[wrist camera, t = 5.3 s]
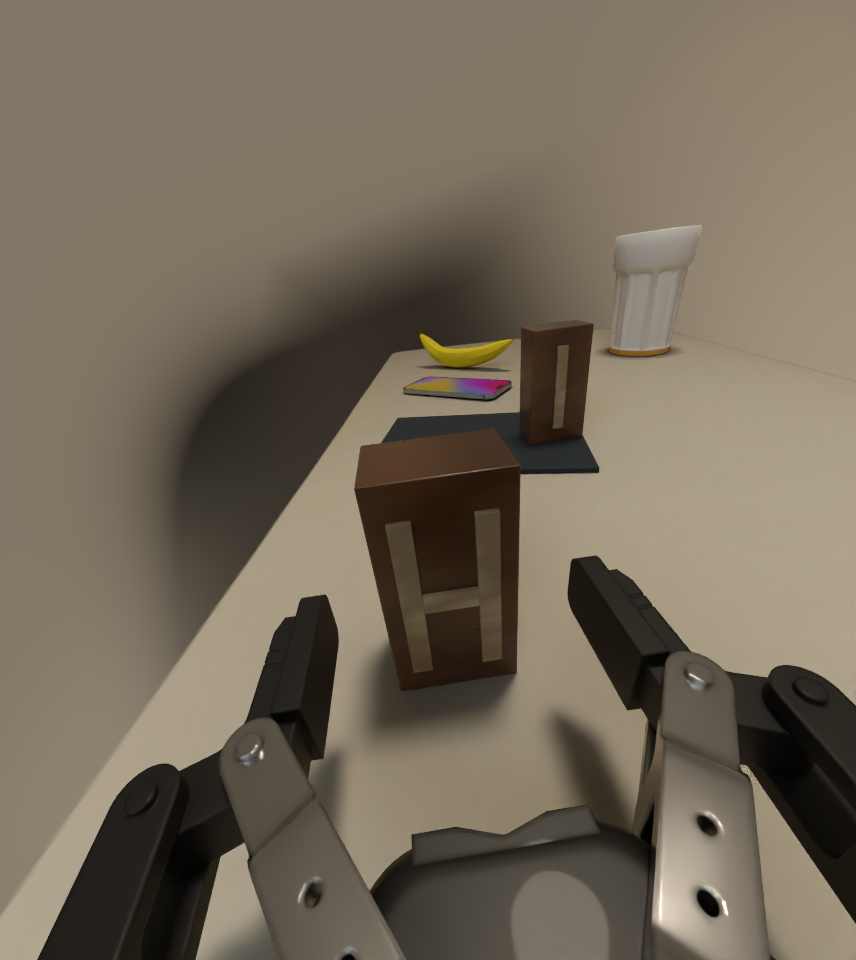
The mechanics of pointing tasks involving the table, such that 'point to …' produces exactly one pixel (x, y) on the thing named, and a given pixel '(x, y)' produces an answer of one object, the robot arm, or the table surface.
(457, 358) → the banana
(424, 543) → the tile
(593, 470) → the word mat
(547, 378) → the tile
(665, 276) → the cup
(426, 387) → the smartphone
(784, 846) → the table surface
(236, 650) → the table surface
